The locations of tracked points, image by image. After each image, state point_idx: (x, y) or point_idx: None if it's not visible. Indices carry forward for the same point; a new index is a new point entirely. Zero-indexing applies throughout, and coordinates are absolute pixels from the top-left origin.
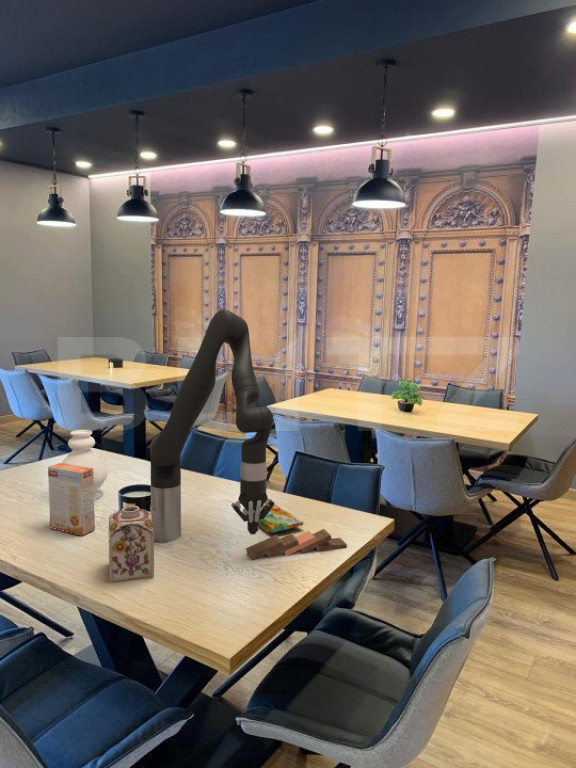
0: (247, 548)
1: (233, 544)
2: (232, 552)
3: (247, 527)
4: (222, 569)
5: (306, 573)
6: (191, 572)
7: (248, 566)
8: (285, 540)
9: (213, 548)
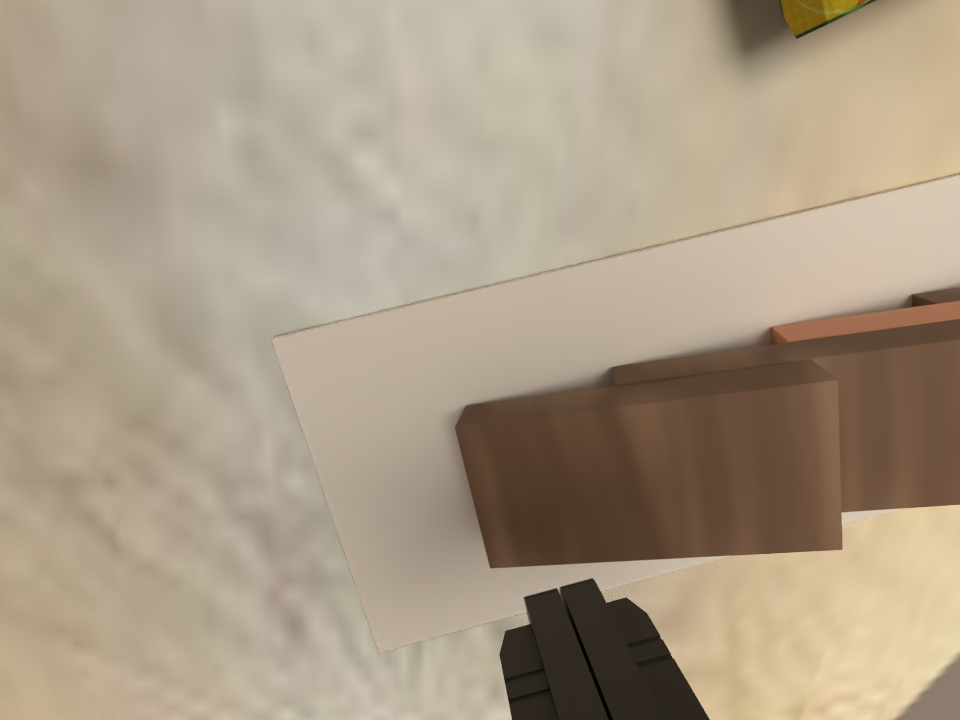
0: (471, 441)
1: (327, 163)
2: (325, 386)
3: (505, 684)
4: (261, 642)
5: (832, 670)
6: (9, 692)
7: (465, 625)
8: (878, 433)
9: (114, 252)
